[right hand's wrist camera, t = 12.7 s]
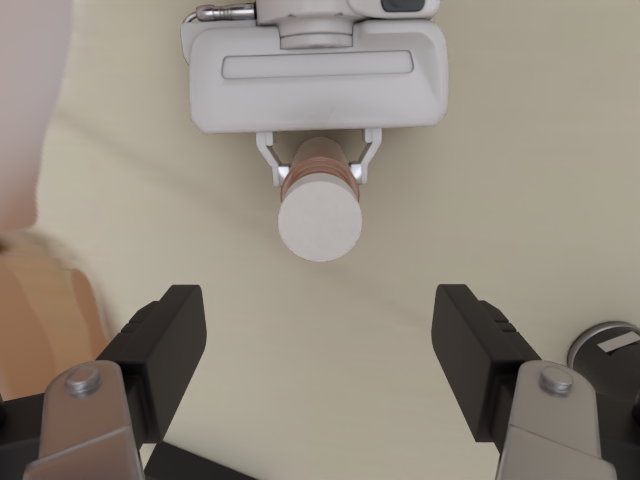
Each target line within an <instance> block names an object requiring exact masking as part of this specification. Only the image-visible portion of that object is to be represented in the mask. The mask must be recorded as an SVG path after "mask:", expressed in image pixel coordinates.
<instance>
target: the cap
mask: <svg viewBox="0 0 640 480" xmlns="http://www.w3.org/2000/svg"><path fill="white" fill-rule="evenodd" d="M278 229H279V233H280V236H281V238H282V240H283V242H284V243H285V245H286V246H287V247H288V248H289V249H290V250H291V251H292V252H293V253H294V254H296V255H297V256H299V257H301V258H303V259H306V260H309V261H314V262H326V261H331V260H334V259H337V258H339V257H341V256H343V255H344V254H346V253H347V252H348V251H350V250H351V249H352V247H353V246H354V245H355V244H356V242H357V240H358V239H359V236H360V234H361V230H362V213H361V209H360V207H359V204H358V201H357V198H356V196H355V194H354V192H353V190H352V189H351V187H350V186H349V185H348V184H347V183H346V182H344V181H343V180H342V179H340V178H338V177H336V176H334V175H331V174H326V173H314V174H309V175H306V176H304V177H302V178H300V179H299V180H297V181H296V182H295V183H293V184H292V185H291V187H290V188H289V189H288V191H287V192H286V194H285V197H284V199H283V202H282V204H281V207H280V210H279V214H278Z"/></svg>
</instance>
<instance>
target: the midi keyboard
mask: <svg viewBox="0 0 640 480" xmlns="http://www.w3.org/2000/svg"><path fill="white" fill-rule="evenodd" d="M144 476H145V480H254V479H252V478H249V477H247V476H245V475H242V474H240V473H237V472H235V471H232V470H230V469H227V468H225V467H222V466H220V465H218V464H215V463H213V462H210V461H208V460H205V459H203V458H200V457H198V456H196V455H193V454H191V453H188V452H186V451H183V450H181V449H178V448H176V447H173V446H171V445H169V444H166V443H164V442H162V443H157V444H156V446H155V448H154V450H153V452H152V454H151V456H150V458H149V461H148V463H147V465H146V467H145V469H144Z"/></svg>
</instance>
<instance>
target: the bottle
mask: <svg viewBox="0 0 640 480" xmlns="http://www.w3.org/2000/svg"><path fill="white" fill-rule="evenodd" d="M314 173H326V174H331V175H334V176H336V177H338V178H340V179H342V180H343V181H344V182H346V183H347V184H348V185H349V186H350V187H351V189H352V190H353V192H354V194H355V196H356V198H357V201H358V204H359V197H360V195H359V187H358V184H357V181H356V178H355V176H354V174H353V172H352V170H351V167H350V165H349V163H348V161H347V159H346V156H345V154H344V152H343V150H342V148H341V147H340V146H339V144H338V143H336V142H335V141H334V140H332V139H330V138H327V137H323V136H318V137H313V138H310V139H308V140H306V141H305V142H304V143H303V144H301V146H300V147H299V148H298V150H297V152H296V155H295V157H294V159H293V161H292V163H291V166H290V168H289V170H288V172H287V174H286V177H285V179H284V181H283V184H282V188H281V204H282V202H283V199H284V197H285V194H286V192H287V191H288V189H289V188H290V187H291V185H292V184H293V183H295V182H296V181H297V180H299V179H300V178H302V177H304V176H306V175H309V174H314Z"/></svg>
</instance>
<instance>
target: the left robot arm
mask: <svg viewBox="0 0 640 480" xmlns="http://www.w3.org/2000/svg"><path fill="white" fill-rule="evenodd" d="M440 3H441V0H256V1H255V3H244V4H231V5H225V6H214V5H202V6H198V7H197V8H196V12H193V13H191V14H189V15H188V16H187V17H186V18H185V20H184V21H183V23H182V25H181V30H180V35H181V42H182V49H183V55H184V58H185V60H186V62H187V64H188V65H189V100H190V112H191V119H192V122H193V124H194V125H195V126H196V127H197V128H198V129H199V130H200V131H201V132H202V133H204V134H216V133H246V132H255V133H256V144H257V148H258V149H259V151H260V152H261V154H262V155H263V157H264V158H265V160H266V161H267V163H268V164H269V166H270V167H272V176H273V185H274V187H282V184H283V181H284V179H285V177H286V174H287V172H288V170H289V168H290V166H291V163H281V162H280V160H279V158H278V157H277V155H276V154H275V152H274V150H273V149H272V147H271V146H273V145H274V144H275V143H276V131H307V130H337V129H362V139H363V140H364V141H365V142H366V143H367V145H366V147H365V149H364V151H363V152H362V154H361V156H360V158H359V160H358V161H349V165H350V167H351V170H352V172H353V174H354V176H355V178H356V181H357V184H367V181H368V164H369V163H370V162H371V160H372V158H373V157H374V155H375V153H376V151H377V150H378V148H379V146H380V145H381V143H382V128H398V127H427V126H436V125H437V124H438V123H439V122H440V121H441V120H442V119H443V117H444V116H445V115H446V112H447V108H448V96H449V64H448V50H447V43H446V39H445V36H444V34H443V32H442V30H441V29H440V27H439V26H438V25H437V24H435V23H434V22H432V21H429V20H430V19H432V18H433V17H434V16H435V14H436V13H437V12H438V10H439V7H440ZM195 18H197V19H198V20H199V21H201V22H191V21H192V20H193V19H195ZM256 18H257V21H256ZM225 20H226V21H225ZM257 25H258V26H257Z"/></svg>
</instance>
